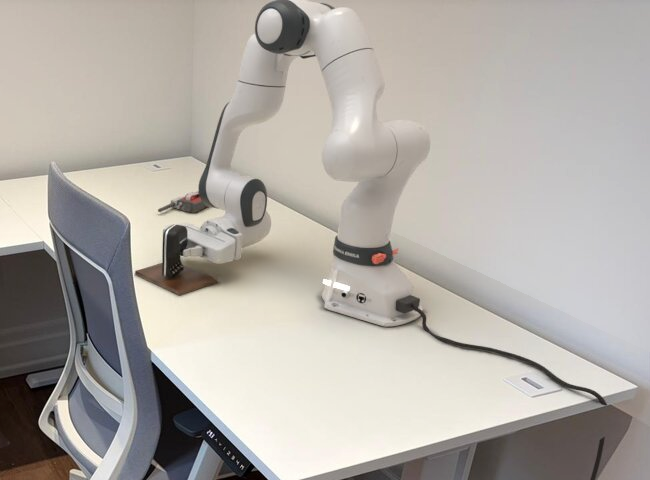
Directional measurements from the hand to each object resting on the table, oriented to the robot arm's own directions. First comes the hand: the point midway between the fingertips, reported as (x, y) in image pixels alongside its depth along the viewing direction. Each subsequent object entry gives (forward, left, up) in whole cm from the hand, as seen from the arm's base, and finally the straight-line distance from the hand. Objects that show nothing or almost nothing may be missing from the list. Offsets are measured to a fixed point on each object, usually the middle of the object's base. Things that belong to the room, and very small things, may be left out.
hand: (173, 249), depth 199 cm
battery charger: (0, 0, -6) cm, 6 cm away
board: (0, -1, -7) cm, 8 cm away
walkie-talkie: (+38, -39, -8) cm, 55 cm away
